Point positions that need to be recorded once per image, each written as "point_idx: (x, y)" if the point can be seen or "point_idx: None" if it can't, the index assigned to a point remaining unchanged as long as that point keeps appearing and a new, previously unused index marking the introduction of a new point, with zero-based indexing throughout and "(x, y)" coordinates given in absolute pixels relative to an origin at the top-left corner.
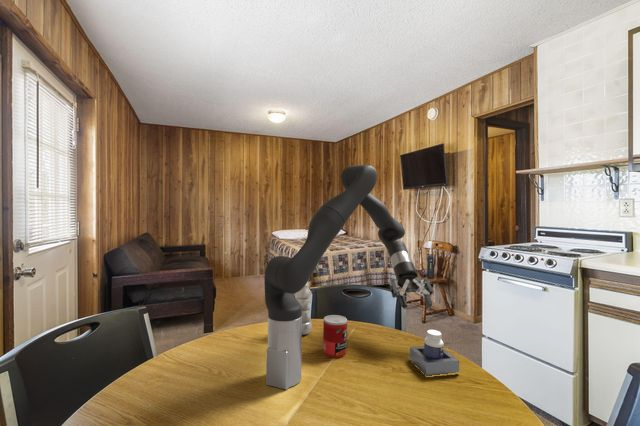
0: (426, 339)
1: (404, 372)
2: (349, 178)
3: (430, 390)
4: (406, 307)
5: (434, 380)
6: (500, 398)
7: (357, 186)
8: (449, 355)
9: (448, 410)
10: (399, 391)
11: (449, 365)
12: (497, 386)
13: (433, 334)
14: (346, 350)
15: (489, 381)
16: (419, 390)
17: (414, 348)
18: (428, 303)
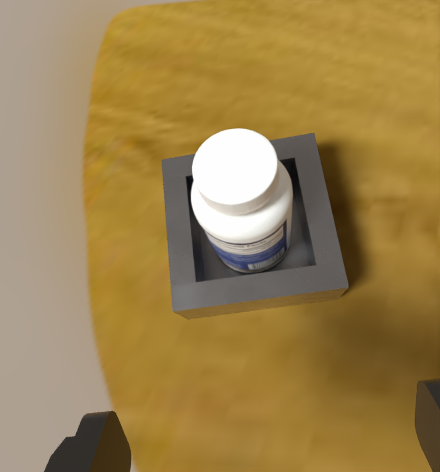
0: (283, 185)
1: (387, 197)
2: None
3: (321, 96)
4: (421, 395)
5: None
6: (127, 75)
7: None
8: (180, 200)
9: (303, 19)
10: (432, 84)
11: None
12: (93, 127)
13: (252, 136)
14: None
15: (98, 152)
16: (359, 94)
17: (327, 268)
18: (107, 451)
